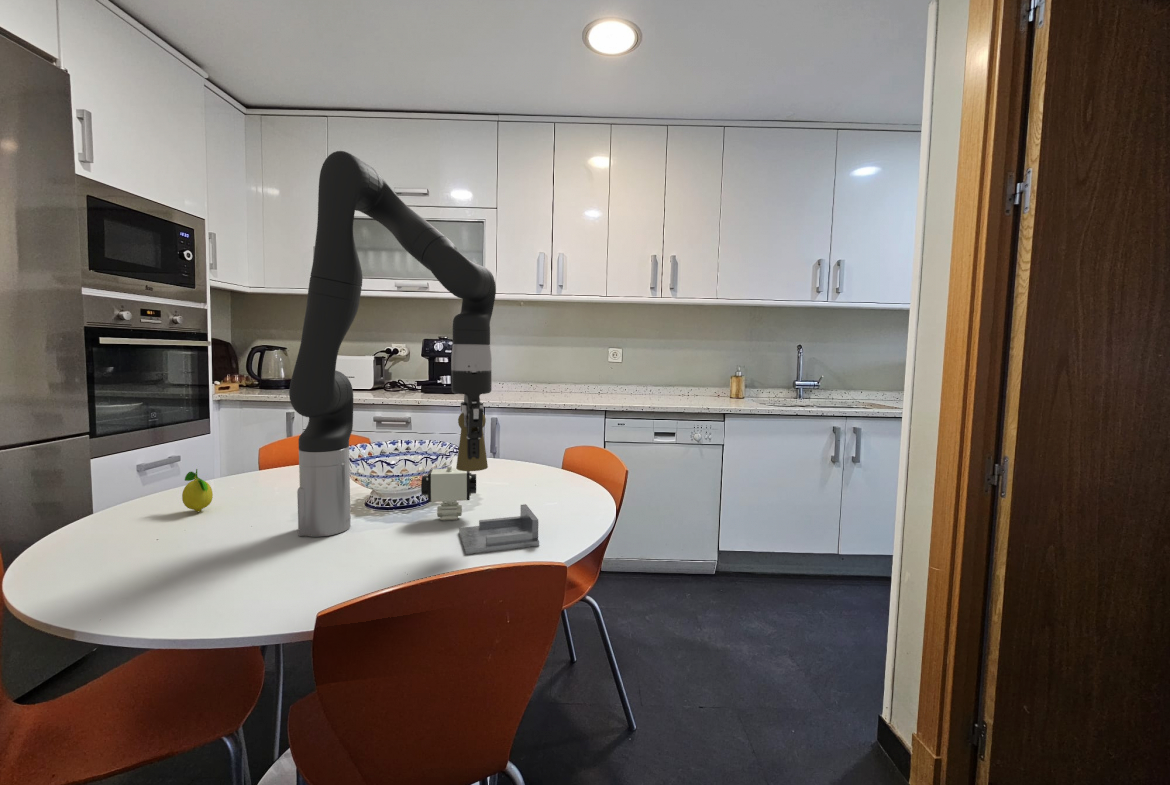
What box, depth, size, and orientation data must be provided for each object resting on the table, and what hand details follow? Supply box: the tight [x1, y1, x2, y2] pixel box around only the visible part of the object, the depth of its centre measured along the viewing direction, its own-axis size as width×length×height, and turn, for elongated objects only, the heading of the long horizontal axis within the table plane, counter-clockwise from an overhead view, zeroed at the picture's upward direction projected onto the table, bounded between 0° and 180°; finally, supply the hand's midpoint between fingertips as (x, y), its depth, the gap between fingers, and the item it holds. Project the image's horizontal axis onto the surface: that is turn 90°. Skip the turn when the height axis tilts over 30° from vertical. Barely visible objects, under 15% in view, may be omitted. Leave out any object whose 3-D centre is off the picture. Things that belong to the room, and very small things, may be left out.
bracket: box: [458, 503, 540, 555], centre depth 100 cm, size 14×12×5 cm
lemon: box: [181, 468, 214, 512], centre depth 113 cm, size 7×6×10 cm
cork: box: [455, 412, 489, 472], centre depth 96 cm, size 6×6×11 cm
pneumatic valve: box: [420, 465, 477, 522], centre depth 112 cm, size 6×12×12 cm, turn 102°
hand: (471, 456), depth 97 cm, fingers closed on cork, 4 cm apart
